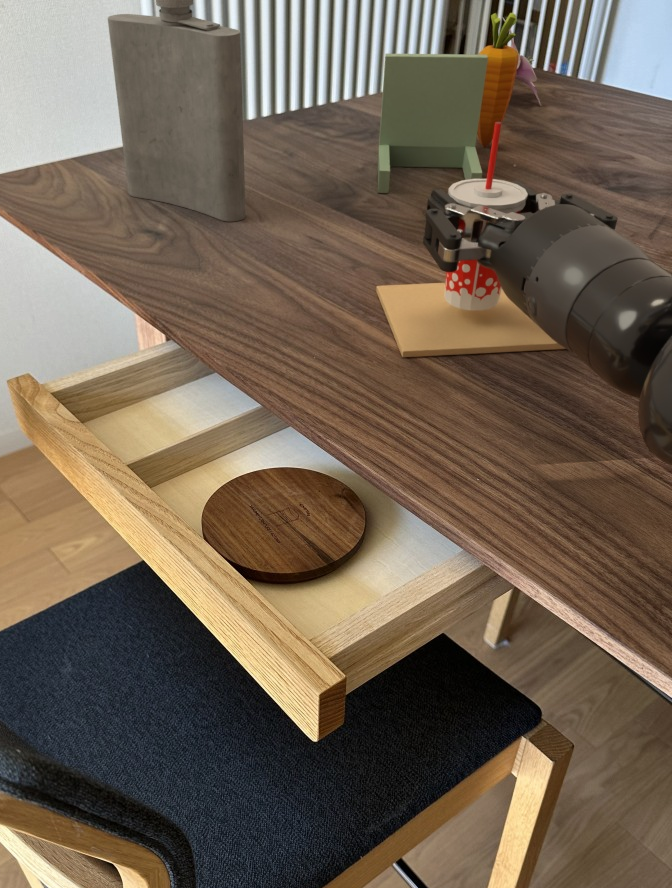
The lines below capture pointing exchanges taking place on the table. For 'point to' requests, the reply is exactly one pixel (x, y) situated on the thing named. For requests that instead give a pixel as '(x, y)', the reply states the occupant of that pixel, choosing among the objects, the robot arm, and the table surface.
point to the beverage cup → (472, 280)
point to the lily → (525, 70)
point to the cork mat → (456, 324)
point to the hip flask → (181, 109)
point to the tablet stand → (430, 113)
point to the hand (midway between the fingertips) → (472, 197)
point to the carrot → (497, 78)
